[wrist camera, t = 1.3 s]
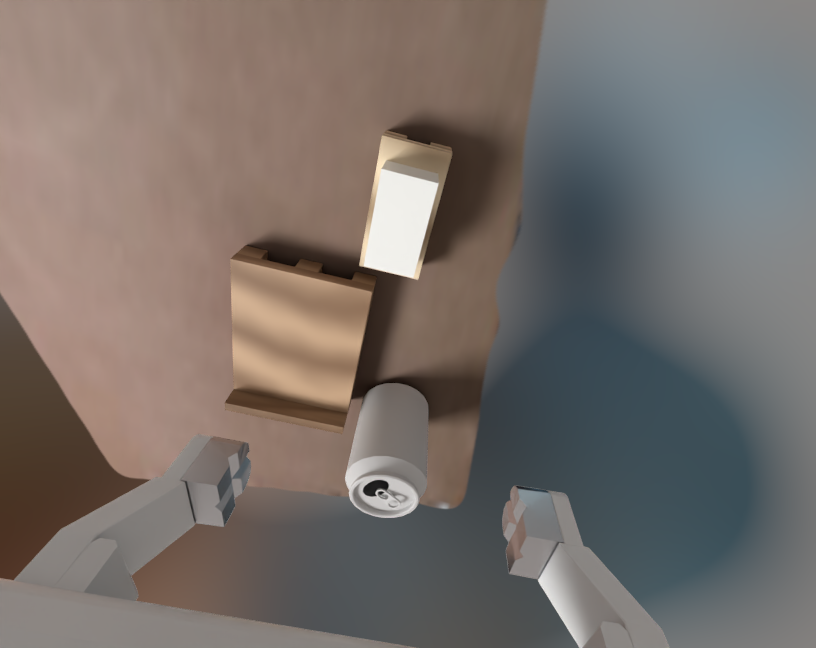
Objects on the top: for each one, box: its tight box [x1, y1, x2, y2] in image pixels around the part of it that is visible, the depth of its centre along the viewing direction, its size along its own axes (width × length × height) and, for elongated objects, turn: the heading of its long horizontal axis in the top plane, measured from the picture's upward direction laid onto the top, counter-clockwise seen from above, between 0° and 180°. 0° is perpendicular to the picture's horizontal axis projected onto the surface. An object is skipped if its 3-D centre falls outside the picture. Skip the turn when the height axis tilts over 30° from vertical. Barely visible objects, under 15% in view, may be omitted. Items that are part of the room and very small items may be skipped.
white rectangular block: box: [364, 160, 439, 278], centre depth 28 cm, size 7×4×3 cm, turn 167°
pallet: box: [359, 131, 452, 280], centre depth 30 cm, size 10×5×3 cm, turn 167°
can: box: [345, 383, 429, 518], centre depth 39 cm, size 8×8×12 cm
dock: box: [225, 245, 377, 434], centre depth 37 cm, size 16×12×5 cm
